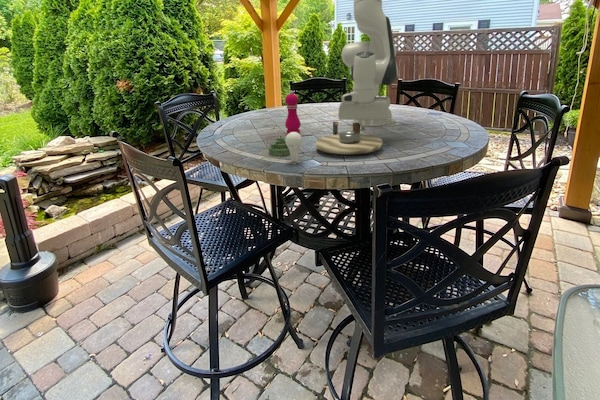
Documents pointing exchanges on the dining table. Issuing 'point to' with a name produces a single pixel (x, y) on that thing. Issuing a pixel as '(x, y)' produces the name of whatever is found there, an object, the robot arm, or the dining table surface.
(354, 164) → the dining table surface
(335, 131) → the pointer
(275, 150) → the decorative artifact
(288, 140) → the lightbulb
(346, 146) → the turntable
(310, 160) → the dining table surface
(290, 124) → the pepper mill
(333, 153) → the turntable base
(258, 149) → the dining table surface
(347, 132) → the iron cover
